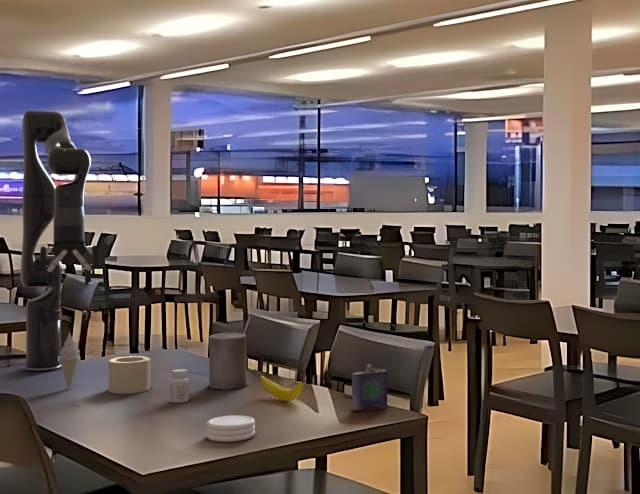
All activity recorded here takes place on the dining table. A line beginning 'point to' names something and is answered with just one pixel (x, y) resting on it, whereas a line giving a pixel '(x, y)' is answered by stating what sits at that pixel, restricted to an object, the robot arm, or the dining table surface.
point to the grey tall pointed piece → (69, 360)
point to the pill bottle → (179, 386)
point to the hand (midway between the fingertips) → (69, 285)
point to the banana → (282, 389)
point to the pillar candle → (227, 361)
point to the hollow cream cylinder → (129, 374)
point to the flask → (369, 389)
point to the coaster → (230, 428)
